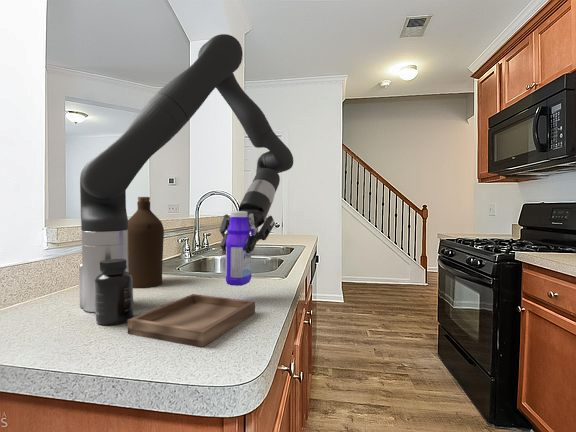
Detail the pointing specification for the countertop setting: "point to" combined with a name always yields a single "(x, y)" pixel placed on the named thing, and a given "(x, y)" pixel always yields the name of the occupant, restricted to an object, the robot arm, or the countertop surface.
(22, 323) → the countertop surface
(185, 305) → the walnut tray
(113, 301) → the supplement bottle
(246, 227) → the bottle
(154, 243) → the olive oil
